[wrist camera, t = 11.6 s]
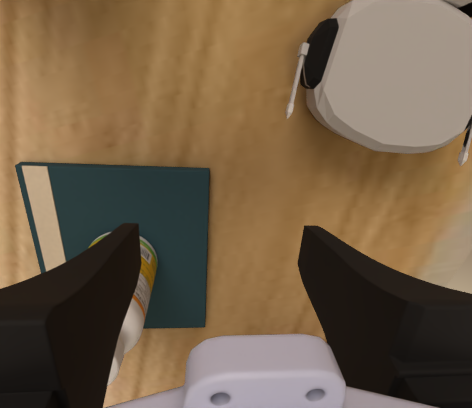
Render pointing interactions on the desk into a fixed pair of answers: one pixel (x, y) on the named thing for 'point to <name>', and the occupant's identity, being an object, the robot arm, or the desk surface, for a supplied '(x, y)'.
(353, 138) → the robot toy
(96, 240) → the supplement bottle
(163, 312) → the teal notebook
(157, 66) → the desk surface
